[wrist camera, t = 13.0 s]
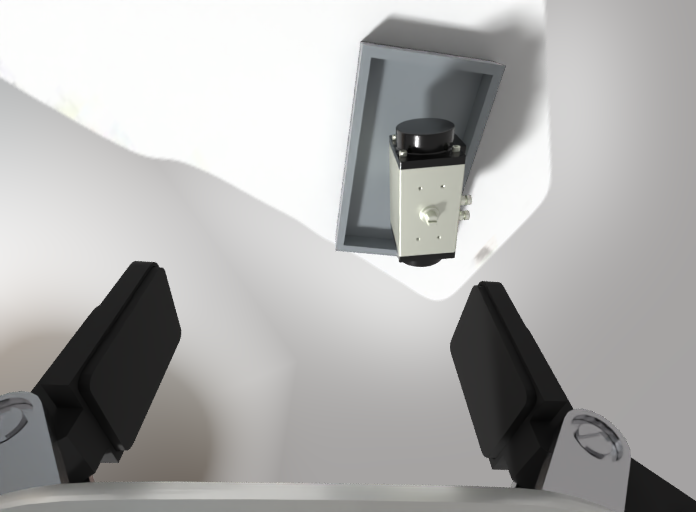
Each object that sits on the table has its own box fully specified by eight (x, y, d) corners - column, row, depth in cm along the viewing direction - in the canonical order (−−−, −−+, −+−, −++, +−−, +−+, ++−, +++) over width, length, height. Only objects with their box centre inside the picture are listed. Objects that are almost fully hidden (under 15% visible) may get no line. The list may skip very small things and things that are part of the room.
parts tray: (360, 41, 31) (362, 44, 28) (492, 61, 32) (505, 65, 30) (335, 236, 42) (335, 250, 40) (433, 245, 43) (439, 260, 41)
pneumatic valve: (385, 215, 40) (401, 283, 30) (382, 104, 33) (402, 146, 23) (434, 210, 40) (467, 278, 30) (442, 98, 33) (487, 139, 23)
